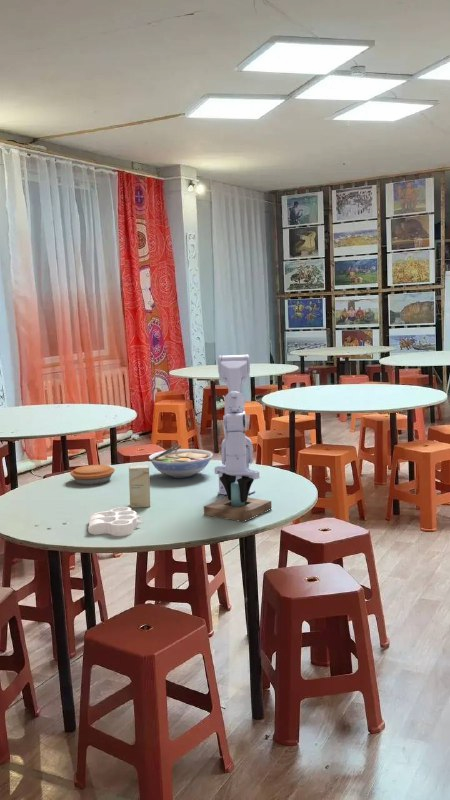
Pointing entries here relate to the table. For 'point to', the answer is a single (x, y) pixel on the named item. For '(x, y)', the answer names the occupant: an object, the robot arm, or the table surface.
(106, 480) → the pie
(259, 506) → the socket block
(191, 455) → the ramen bowl
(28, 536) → the table surface
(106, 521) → the paw shaped tray
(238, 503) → the peg
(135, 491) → the skincare box
